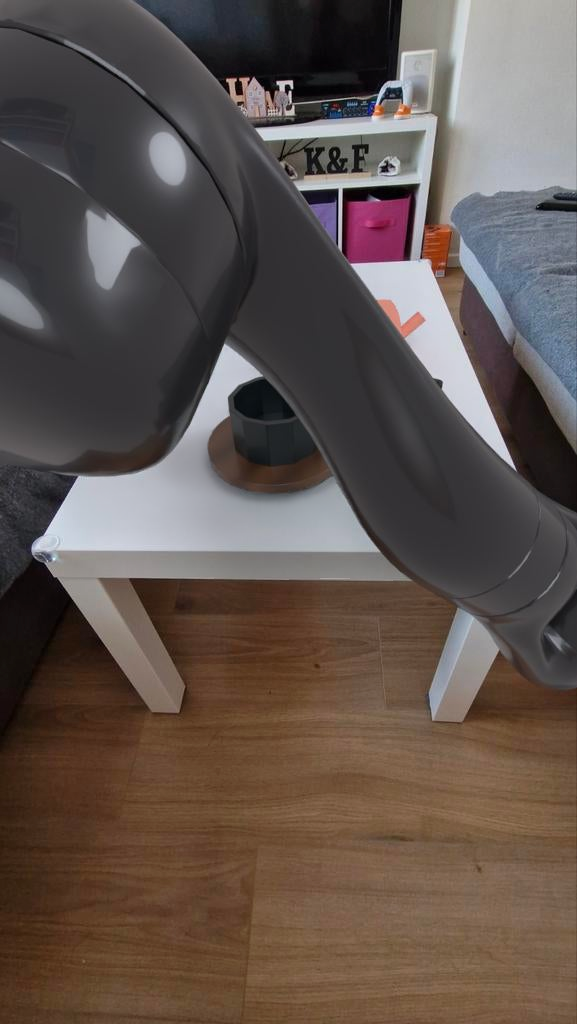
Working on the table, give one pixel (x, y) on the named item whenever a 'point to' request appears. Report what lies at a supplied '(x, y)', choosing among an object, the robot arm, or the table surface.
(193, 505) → the table surface
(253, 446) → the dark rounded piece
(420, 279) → the table surface
